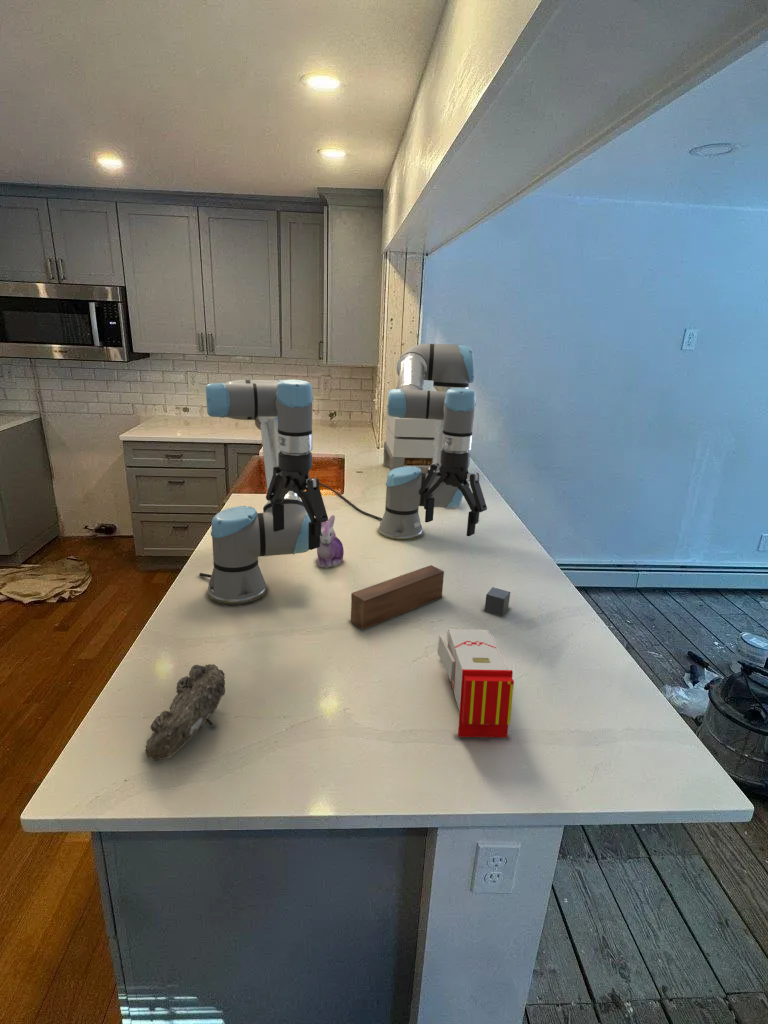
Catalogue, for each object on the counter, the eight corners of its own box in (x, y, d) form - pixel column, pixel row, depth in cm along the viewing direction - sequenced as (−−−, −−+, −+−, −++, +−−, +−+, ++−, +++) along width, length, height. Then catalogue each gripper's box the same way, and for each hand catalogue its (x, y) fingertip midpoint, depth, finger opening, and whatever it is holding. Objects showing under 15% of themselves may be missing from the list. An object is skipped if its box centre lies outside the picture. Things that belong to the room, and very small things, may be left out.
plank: (350, 621, 143) (351, 593, 140) (429, 590, 161) (431, 564, 158) (363, 629, 140) (364, 600, 137) (441, 597, 157) (444, 571, 154)
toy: (488, 613, 130) (523, 677, 101) (484, 667, 133) (517, 744, 104) (435, 612, 130) (455, 676, 101) (432, 666, 133) (451, 743, 103)
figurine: (321, 571, 169) (321, 524, 164) (309, 557, 177) (309, 512, 172) (350, 565, 173) (351, 520, 168) (337, 553, 182) (338, 509, 177)
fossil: (174, 665, 116) (226, 633, 111) (207, 696, 118) (259, 665, 113) (119, 753, 96) (179, 718, 91) (161, 787, 99) (221, 755, 94)
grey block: (484, 610, 151) (486, 594, 149) (490, 603, 155) (492, 586, 153) (502, 616, 149) (504, 599, 147) (508, 608, 153) (510, 591, 151)
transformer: (382, 463, 289) (386, 382, 275) (445, 464, 293) (451, 384, 279) (390, 482, 257) (394, 392, 243) (460, 483, 261) (468, 394, 247)
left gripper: (249, 442, 132) (252, 526, 139) (317, 467, 116) (317, 560, 123) (276, 438, 137) (277, 519, 145) (345, 461, 121) (343, 551, 129)
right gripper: (408, 443, 150) (404, 519, 157) (490, 462, 135) (481, 544, 142) (426, 440, 155) (421, 512, 162) (506, 457, 140) (496, 537, 147)
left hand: (295, 538), depth 134 cm, fingers open, 13 cm apart
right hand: (449, 527), depth 152 cm, fingers open, 13 cm apart
